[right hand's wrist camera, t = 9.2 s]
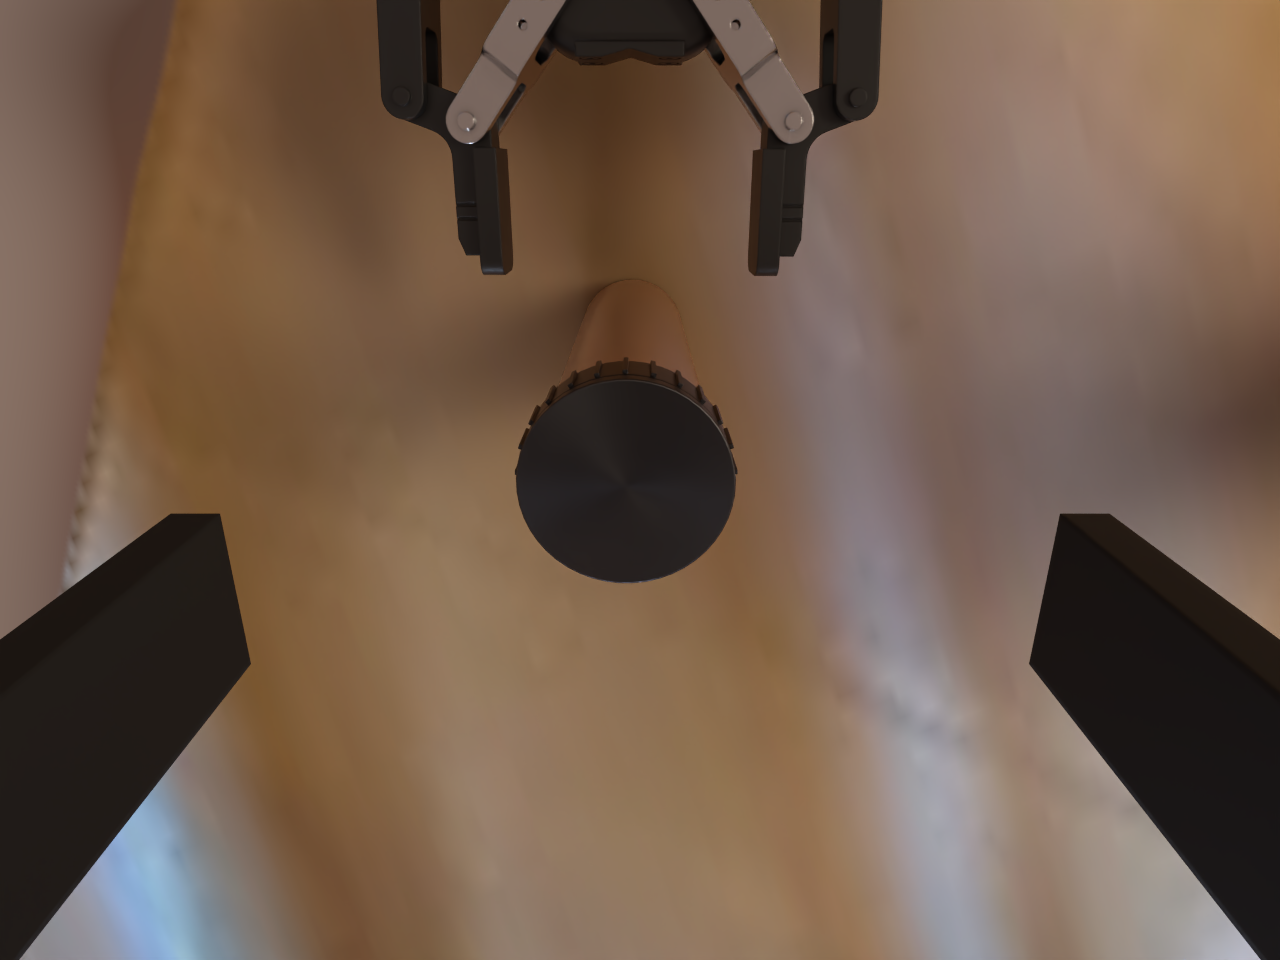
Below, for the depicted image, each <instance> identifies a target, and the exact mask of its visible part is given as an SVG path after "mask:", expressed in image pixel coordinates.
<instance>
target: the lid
mask: <svg viewBox="0 0 1280 960" xmlns="http://www.w3.org/2000/svg"><path fill="white" fill-rule="evenodd" d="M528 424H529V425H531V427H530V429H528V428H526V430H525V432H524V435H523V437H522V439H521V442H520V444H519V447H518V449H521V451H520V455H519V460H518V464H517V467H516V469H515V475H516V487H517V496H518V501H519V506H520V509H521V511H522V514H523V517H524V519H525V521H526V523H527V525H528V527H529V529H530V531H531V532H532V534H533V535H534V537H535V538H536V540H537V541H538V542H539V543H540V544H541V546H542V547H543V548H544V549H545V550H546V551H547V552H548V553H549V554H550V555H552V556H553V557H554V558H555V559H556V560H558V561H559V562H561V563H562V564H563V565H565V566H566V567H568V568H570V569H572V570H574V571H576V572H578V573H580V574H582V575H585V576H588V577H591V578H594V579H598V580H602V581H607V582H615V583H638V582H647V581H651V580H655V579H660V578H662V577H665V576H668V575H671V574H673V573H675V572H677V571H679V570H681V569H683V568H685V567H686V566H688V565H689V564H691V563H692V562H694V561H695V560H697V559H698V558H699V557H700V556H701V555H702V554H703V553H705V552H706V551H707V550H708V548H709V547H710V546H711V545H712V544H713V543H714V542H715V540H716V539H717V538H718V536H719V535H720V533H721V532H722V530H723V528H724V526H725V524H726V522H727V520H728V518H729V515H730V512H731V509H732V506H733V501H734V498H735V486H736V476H735V474H737V467H736V464H735V461H734V458H733V455H732V452H731V450H730V449H732V448H734V447H733V443H732V440H731V437H730V435H729V432H728V429H727V428H724V429H723V426H722V424H723V421H722V418H721V415H720V412H719V409H718V407H717V405H714V406H712V405H711V403H710V402H709V401H708V399H707V398H706V397H705V395H704V393H703V389H702V387H701V386H700V385H698V386H697V387H696V386H694V385H693V384H692V383H690V382H689V381H688V380H687V379H685V378H683V377H682V375H681V372H680V371H679V370H676V371H675V372H673V371H671V370H668V369H666V368H663V367H661V366H657V365H656V361H652V360H651V362H650V363H645V362H637V361H629V358H628V357H624V358H623V361H616V362H608V363H603V364H602V361H597V362H596V366H592V367H590V368H587V369H585V370H582V371H580V372H578V373H577V371H576V370H574V371H573V372H572V373H571V376H570V377H569V378H568V379H567V380H565V381H564V382H563V383H561V384H560V385H559V386H558V387H557V388H556V387H555V386H554V385H553V386H552V387H551V389H550V391H549V393H548V396H547V398H546V400H545V401H544V402H543V404H542V405H541V406H538V405H537V406H536V408H535V409H534V412H533V414H532V416H531V419H530V421H529V423H528Z"/></svg>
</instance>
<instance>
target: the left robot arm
mask: <svg viewBox="0 0 1280 960" xmlns="http://www.w3.org/2000/svg"><path fill="white" fill-rule="evenodd" d="M377 18H378V38H379V58H380V79H381V97H382V101H383V104H384V106H385V108H386V109H387V111H388V112H389V113H390V114H391V115H393V116H394V117H396V118H399V119H403V120H406V121H409V122H411V123H414V124H417V125H419V126H422V127H424V128H427V129H430V130H432V131H434V132H436V133H438V134H439V135H441V136H442V137H443V138H444V139H445V140H446V142H447V143H448V145H449V147H450V149H451V153H452V159H453V171H454V184H455V197H456V210H457V219H458V220H457V223H458V236H459V240H460V242H461V245H462V247H463V249H464V251H465V253H466V255H480V262H481V269H482V273H483V274H484V275H506V274H507V273H509V272H510V271H511V270H512V267H513V246H512V228H511V210H510V192H509V173H508V155H507V149H502V148H499V135H500V133H501V132H502V130H503V129H504V127H505V126H506V124H507V123H508V121H509V119H510V118H511V116H512V115H513V113H514V112H515V110H516V109H517V107H518V105H519V104H520V102H521V101H522V99H523V98H524V96H525V95H526V93H527V92H528V91H529V90H530V89H531V88H532V87H533V86H534V84H535V83H536V82H537V80H538V79H539V77H540V76H541V74H542V73H543V71H544V70H545V68H546V66H547V65H548V63H549V62H550V60H551V59H552V57H553V56H554V54H555V52H556V51H557V50H558V51H559V52H560V53H561V54H563V55H564V56H566V57H568V58H570V59H572V60H575V61H578V62H579V64H580V65H607V64H611V63H614V62H617V61H621V60H624V59H627V58H634V59H637V60H641V61H644V62H647V63H651V64H654V65H681V64H682V62H683V61H686V60H689V59H691V58H693V57H695V56H696V55H698V54H699V53H701V52H702V51H703V50H705V52H706V53H707V55H708V56H709V58H710V59H711V61H712V63H713V64H714V66H715V67H716V69H717V70H718V72H719V73H720V75H721V76H722V78H723V79H724V81H725V82H726V84H727V85H728V86H729V87H730V88H731V89H732V90H733V91H734V93H735V94H736V95H737V97H738V98H739V100H740V102H741V103H742V105H743V106H744V108H745V109H746V111H747V112H748V114H749V115H750V117H751V118H752V120H753V122H754V123H755V125H756V126H757V128H758V129H759V131H760V132H761V149H759V150H754V151H753V162H752V183H751V205H750V226H749V248H748V268H749V271H750V272H751V273H752V274H753V275H754V276H777V273H778V269H779V258H780V256H794V254H795V252H796V250H797V247H798V245H799V243H800V241H801V232H802V218H803V203H804V189H805V174H806V159H807V154H808V150H809V148H810V146H811V144H812V143H813V141H814V140H815V139H816V138H817V137H818V136H820V135H821V134H823V133H825V132H827V131H830V130H833V129H835V128H838V127H840V126H843V125H846V124H848V123H851V122H853V121H858V120H861V119H864V118H866V117H867V116H869V115H870V114H871V113H872V112H873V110H874V109H875V107H876V105H877V102H878V93H879V69H880V44H881V20H882V0H821V12H820V71H819V89H816V90H814V91H811V92H808V93H806V94H802V92H801V91H800V89H799V88H798V86H797V84H796V83H795V81H794V80H793V78H792V76H791V75H790V73H789V71H788V70H787V68H786V67H785V65H784V63H783V62H782V60H781V58H780V56H779V54H778V51H777V47H776V45H775V43H774V41H773V39H772V37H771V35H770V34H769V32H768V31H767V29H766V27H765V26H764V24H763V22H762V21H761V19H760V18H759V16H758V14H757V13H756V11H755V10H754V8H753V6H752V5H751V3H750V2H749V0H510V1H509V3H508V4H507V6H506V7H505V9H504V11H503V12H502V14H501V16H500V17H499V19H498V21H497V22H496V24H495V25H494V27H493V29H492V30H491V32H490V34H489V35H488V37H487V39H486V41H485V43H484V45H483V48H482V52H481V55H480V57H479V59H478V61H477V63H476V64H475V66H474V68H473V69H472V71H471V72H470V74H469V76H468V77H467V79H466V81H465V82H464V84H463V86H462V87H461V89H460V90H459V92H458V94H456V93H453V92H451V91H448V90H446V89H443V88H442V63H441V22H440V0H377Z"/></svg>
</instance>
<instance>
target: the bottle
mask: <svg viewBox="0 0 1280 960" xmlns="http://www.w3.org/2000/svg"><path fill="white" fill-rule="evenodd" d="M624 357H628V358H629V361H637V362H645V363H650V362H651V360H652V361H656V365H657V366H661V367H663V368H666V369H668V370H671V371H673V372H675V371H676V370H679V371H680V372H681V375H682V377H683V378H685V379H687V380H688V381H689V382H690V383H692V384H693V385H694V386H696V387H697V386H698V385H699V382H698V378H697V375H696V371H695V368H694V364H693V360H692V357H691V353H690V350H689V346H688V343H687V339H686V335H685V332H684V328H683V325H682V321H681V318H680V314H679V312H678V309H677V307H676V305H675V303H674V302H673V300H672V299H671V298H670V296H669V295H668V294H667V293H666V292H665V291H663V290H662V289H661V288H659V287H658V286H656V285H654V284H652V283H649V282H646V281H643V280H633V279H629V280H622V281H618V282H615V283H613V284H610V285H609V286H607V287H605V288H604V289H602V290H601V291H600V292H599V293H598V294H597V295H596V296H595V297H594V298H593V300H592V301H591V302H590V304H589V306H588V308H587V310H586V313H585V316H584V318H583V321H582V324H581V326H580V329H579V332H578V334H577V337H576V340H575V343H574V345H573V348H572V351H571V353H570V356H569V359H568V361H567V364H566V367H565V369H564V372H563V375H562V378H561V380H560V383H559V385H560V384H561V383H563V382H564V381H565V380H567V379H568V378H569V377H570V376H571V373H572V372H573V371H574V370H576V371H577V373H578V372H580V371H582V370H585V369H587V368H590V367H592V366H596V362H597V361H602V364H603V363H608V362H616V361H623V358H624Z"/></svg>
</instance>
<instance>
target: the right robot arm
mask: <svg viewBox="0 0 1280 960" xmlns="http://www.w3.org/2000/svg"><path fill="white" fill-rule="evenodd" d="M250 664H251V662H250V657H249V653H248V648H247V643H246V638H245V633H244V628H243V623H242V619H241V614H240V609H239V604H238V599H237V594H236V590H235V585H234V580H233V575H232V570H231V565H230V560H229V556H228V551H227V546H226V541H225V536H224V531H223V527H222V522H221V517H220V514H170V515H168V516H167V517H166V518H164V519H163V520H162V521H160V522H159V523H157V524H156V525H155V526H153V527H152V528H151V529H149V530H148V531H147V532H145V533H144V534H143V535H141V536H140V537H139V538H137V539H136V540H134V541H133V542H132V543H130V544H129V545H128V546H126V547H125V548H124V549H122V550H121V551H120V552H118V553H117V554H115V555H114V556H113V557H111V558H110V559H109V560H107V561H106V562H105V563H103V564H102V565H101V566H99V567H98V568H97V569H95V570H94V571H92V572H91V573H90V574H88V575H87V576H86V577H84V578H83V579H82V580H80V581H79V582H78V583H76V584H75V585H74V586H72V587H71V588H69V589H68V590H67V591H65V592H64V593H63V594H61V595H60V596H59V597H57V598H56V599H55V600H53V601H52V602H50V603H49V604H48V605H46V606H45V607H44V608H42V609H41V610H40V611H38V612H37V613H36V614H34V615H33V616H32V617H30V618H29V619H28V620H26V621H25V622H23V623H22V624H21V625H19V626H18V627H17V628H15V629H14V630H13V631H11V632H10V633H9V634H7V635H6V636H4V637H3V638H2V639H0V960H19V959H20V958H21V957H22V955H23V954H24V953H25V952H26V950H27V949H28V948H29V947H30V945H31V944H32V943H33V941H34V940H35V939H36V938H37V936H38V935H39V934H40V932H41V931H42V930H43V929H44V927H45V926H46V925H47V924H48V922H49V921H50V920H51V918H52V917H53V916H54V915H55V913H56V912H57V911H58V910H59V908H60V907H61V906H62V904H63V903H64V902H65V901H66V899H67V898H68V897H69V895H70V894H71V893H72V892H73V890H74V889H75V888H76V887H77V885H78V884H79V883H80V881H81V880H82V879H83V878H84V876H85V875H86V874H87V872H88V871H89V870H90V869H91V867H92V866H93V865H94V864H95V862H96V861H97V860H98V858H99V857H100V856H101V855H102V853H103V852H104V851H105V850H106V848H107V847H108V846H109V844H110V843H111V842H112V841H113V839H114V838H115V837H116V835H117V834H118V833H119V832H120V830H121V829H122V828H123V827H124V825H125V824H126V823H127V821H128V820H129V819H130V818H131V816H132V815H133V814H134V812H135V811H136V810H137V809H138V807H139V806H140V805H141V804H142V802H143V801H144V800H145V798H146V797H147V796H148V795H149V793H150V792H151V791H152V790H153V788H154V787H155V786H156V784H157V783H158V782H159V781H160V779H161V778H162V777H163V775H164V774H165V773H166V772H167V770H168V769H169V768H170V767H171V765H172V764H173V763H174V761H175V760H176V759H177V758H178V756H179V755H180V754H181V752H182V751H183V750H184V749H185V747H186V746H187V745H188V744H189V742H190V741H191V740H192V738H193V737H194V736H195V735H196V733H197V732H198V731H199V730H200V728H201V727H202V726H203V724H204V723H205V722H206V721H207V719H208V718H209V717H210V715H211V714H212V713H213V712H214V710H215V709H216V708H217V707H218V705H219V704H220V703H221V701H222V700H223V699H224V698H225V696H226V695H227V694H228V692H229V691H230V690H231V689H232V687H233V686H234V685H235V684H236V682H237V681H238V680H239V678H240V677H241V676H242V675H243V673H244V672H245V671H246V670H247V668H248V667H249V666H250ZM1029 664H1030V666H1031V667H1032V668H1033V669H1034V671H1035V672H1036V673H1037V675H1038V676H1039V677H1040V678H1041V680H1042V681H1043V682H1044V684H1045V685H1046V686H1047V687H1048V689H1049V690H1050V691H1051V692H1052V694H1053V695H1054V696H1055V698H1056V699H1057V700H1058V701H1059V703H1060V704H1061V705H1062V707H1063V708H1064V709H1065V710H1066V712H1067V713H1068V714H1069V715H1070V717H1071V718H1072V719H1073V721H1074V722H1075V723H1076V724H1077V726H1078V727H1079V728H1080V729H1081V731H1082V732H1083V733H1084V735H1085V736H1086V737H1087V738H1088V740H1089V741H1090V742H1091V744H1092V745H1093V746H1094V747H1095V749H1096V750H1097V751H1098V752H1099V754H1100V755H1101V756H1102V758H1103V759H1104V760H1105V761H1106V763H1107V764H1108V765H1109V767H1110V768H1111V769H1112V770H1113V772H1114V773H1115V774H1116V775H1117V777H1118V778H1119V779H1120V781H1121V782H1122V783H1123V784H1124V786H1125V787H1126V788H1127V789H1128V791H1129V792H1130V793H1131V795H1132V796H1133V797H1134V798H1135V800H1136V801H1137V802H1138V804H1139V805H1140V806H1141V807H1142V809H1143V810H1144V811H1145V812H1146V814H1147V815H1148V816H1149V818H1150V819H1151V820H1152V821H1153V823H1154V824H1155V825H1156V827H1157V828H1158V829H1159V830H1160V832H1161V833H1162V834H1163V835H1164V837H1165V838H1166V839H1167V841H1168V842H1169V843H1170V844H1171V846H1172V847H1173V848H1174V849H1175V851H1176V852H1177V853H1178V855H1179V856H1180V857H1181V858H1182V860H1183V861H1184V862H1185V864H1186V865H1187V866H1188V867H1189V869H1190V870H1191V871H1192V872H1193V874H1194V875H1195V876H1196V878H1197V879H1198V880H1199V881H1200V883H1201V884H1202V885H1203V887H1204V888H1205V889H1206V890H1207V892H1208V893H1209V894H1210V895H1211V897H1212V898H1213V899H1214V901H1215V902H1216V903H1217V904H1218V906H1219V907H1220V908H1221V909H1222V911H1223V912H1224V913H1225V915H1226V916H1227V917H1228V918H1229V920H1230V921H1231V922H1232V924H1233V925H1234V926H1235V927H1236V929H1237V930H1238V931H1239V932H1240V934H1241V935H1242V936H1243V938H1244V939H1245V940H1246V941H1247V943H1248V944H1249V945H1250V947H1251V948H1252V949H1253V950H1254V952H1255V953H1256V954H1257V955H1258V957H1259V958H1260V959H1261V960H1280V639H1278V638H1277V637H1276V636H1274V635H1273V634H1272V633H1270V632H1269V631H1267V630H1266V629H1265V628H1263V627H1262V626H1261V625H1259V624H1258V623H1257V622H1255V621H1254V620H1253V619H1251V618H1250V617H1248V616H1247V615H1246V614H1244V613H1243V612H1242V611H1240V610H1239V609H1238V608H1236V607H1235V606H1234V605H1232V604H1231V603H1230V602H1228V601H1227V600H1225V599H1224V598H1223V597H1221V596H1220V595H1219V594H1217V593H1216V592H1215V591H1213V590H1212V589H1211V588H1209V587H1208V586H1207V585H1205V584H1204V583H1202V582H1201V581H1200V580H1198V579H1197V578H1196V577H1194V576H1193V575H1192V574H1190V573H1189V572H1188V571H1186V570H1185V569H1183V568H1182V567H1181V566H1179V565H1178V564H1177V563H1175V562H1174V561H1173V560H1171V559H1170V558H1169V557H1167V556H1166V555H1165V554H1163V553H1162V552H1160V551H1159V550H1158V549H1156V548H1155V547H1154V546H1152V545H1151V544H1150V543H1148V542H1147V541H1146V540H1144V539H1143V538H1142V537H1140V536H1139V535H1137V534H1136V533H1135V532H1133V531H1132V530H1131V529H1129V528H1128V527H1127V526H1125V525H1124V524H1123V523H1121V522H1120V521H1118V520H1117V519H1116V518H1114V517H1113V516H1112V515H1110V514H1060V517H1059V522H1058V527H1057V532H1056V536H1055V541H1054V546H1053V551H1052V556H1051V561H1050V565H1049V570H1048V575H1047V580H1046V585H1045V590H1044V594H1043V599H1042V604H1041V609H1040V614H1039V619H1038V624H1037V628H1036V633H1035V638H1034V643H1033V648H1032V653H1031V657H1030V662H1029Z"/></svg>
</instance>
